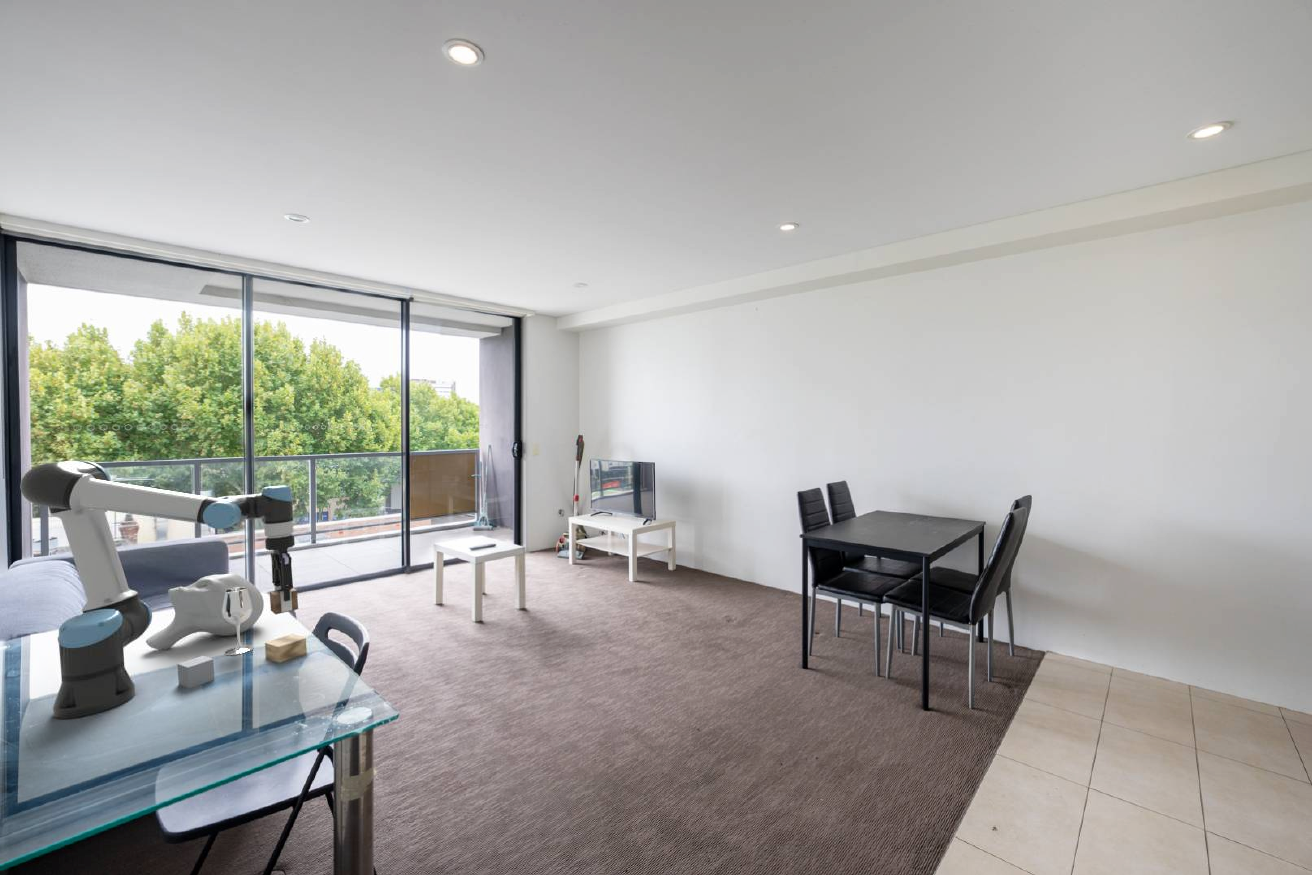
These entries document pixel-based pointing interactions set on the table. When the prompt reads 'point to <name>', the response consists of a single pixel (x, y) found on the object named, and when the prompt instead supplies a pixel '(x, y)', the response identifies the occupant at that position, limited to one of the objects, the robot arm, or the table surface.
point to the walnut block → (276, 601)
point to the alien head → (205, 609)
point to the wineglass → (237, 614)
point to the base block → (285, 648)
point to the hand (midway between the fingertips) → (283, 608)
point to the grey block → (195, 671)
